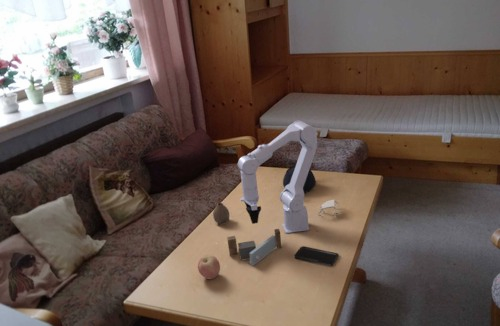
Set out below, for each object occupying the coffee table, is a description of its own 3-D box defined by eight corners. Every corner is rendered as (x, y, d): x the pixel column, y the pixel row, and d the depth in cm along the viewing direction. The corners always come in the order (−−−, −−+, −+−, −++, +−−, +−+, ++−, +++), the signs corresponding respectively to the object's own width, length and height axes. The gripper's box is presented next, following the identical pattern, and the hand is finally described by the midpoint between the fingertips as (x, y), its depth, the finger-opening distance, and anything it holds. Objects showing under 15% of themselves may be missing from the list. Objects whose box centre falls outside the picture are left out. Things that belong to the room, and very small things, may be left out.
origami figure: (336, 221, 190) (335, 211, 188) (316, 218, 193) (316, 208, 192) (344, 208, 199) (344, 198, 197) (325, 206, 203) (325, 196, 201)
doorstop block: (255, 251, 174) (253, 240, 173) (256, 257, 171) (255, 246, 169) (239, 254, 174) (238, 243, 172) (240, 260, 170) (239, 248, 168)
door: (273, 246, 176) (272, 235, 174) (278, 248, 175) (277, 236, 173) (250, 264, 166) (249, 253, 165) (255, 266, 165) (254, 254, 163)
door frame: (280, 244, 177) (278, 228, 175) (281, 247, 175) (280, 231, 173) (229, 252, 175) (227, 237, 173) (229, 256, 173) (227, 240, 170)
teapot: (308, 201, 208) (307, 177, 204) (276, 198, 214) (274, 174, 210) (322, 179, 229) (321, 156, 225) (292, 176, 235) (291, 154, 231)
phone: (301, 245, 174) (339, 253, 167) (301, 248, 174) (339, 256, 167) (293, 256, 168) (332, 265, 160) (293, 259, 168) (332, 268, 161)
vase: (228, 226, 194) (225, 207, 191) (212, 226, 196) (209, 207, 192) (231, 218, 200) (229, 200, 197) (216, 218, 202) (214, 200, 199)
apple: (196, 274, 164) (193, 255, 161) (216, 267, 167) (214, 249, 164) (203, 286, 158) (200, 266, 155) (224, 279, 160) (221, 260, 157)
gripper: (236, 181, 181) (240, 211, 186) (242, 196, 167) (246, 229, 172) (254, 178, 182) (257, 208, 187) (261, 193, 168) (264, 225, 173)
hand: (253, 218), depth 180 cm, fingers open, 7 cm apart
